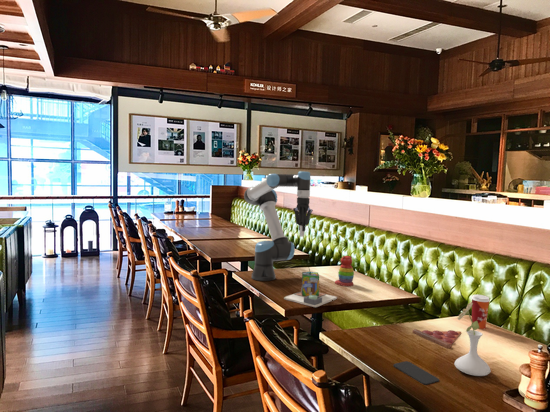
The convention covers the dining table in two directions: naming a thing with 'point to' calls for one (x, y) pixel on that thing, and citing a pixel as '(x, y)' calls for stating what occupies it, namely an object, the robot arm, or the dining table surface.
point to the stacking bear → (345, 272)
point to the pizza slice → (439, 336)
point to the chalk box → (310, 283)
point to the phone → (416, 373)
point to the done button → (313, 297)
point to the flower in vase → (472, 351)
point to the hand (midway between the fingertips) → (301, 236)
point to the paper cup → (480, 309)
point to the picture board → (310, 302)
